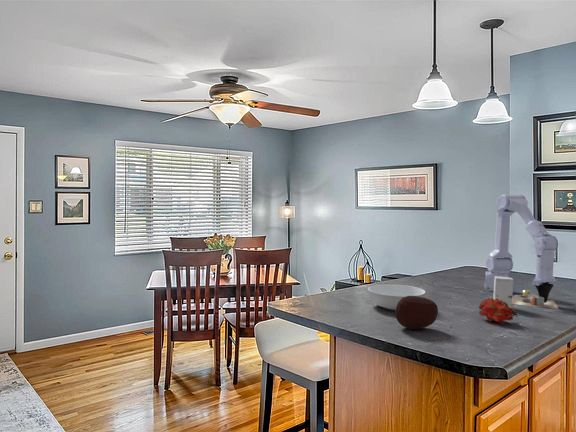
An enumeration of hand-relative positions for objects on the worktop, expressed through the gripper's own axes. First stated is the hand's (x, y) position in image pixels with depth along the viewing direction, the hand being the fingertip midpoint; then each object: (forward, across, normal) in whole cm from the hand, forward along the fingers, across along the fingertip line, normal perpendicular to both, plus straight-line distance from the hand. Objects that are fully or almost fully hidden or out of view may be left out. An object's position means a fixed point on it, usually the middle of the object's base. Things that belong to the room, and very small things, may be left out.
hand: (543, 302), depth 171 cm
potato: (+2, -67, +9) cm, 67 cm away
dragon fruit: (+2, -37, -1) cm, 37 cm away
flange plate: (+1, 0, +5) cm, 5 cm away
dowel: (+1, -4, +2) cm, 5 cm away
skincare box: (+2, -19, +6) cm, 20 cm away
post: (+1, +2, +7) cm, 8 cm away
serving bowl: (+2, -50, +31) cm, 58 cm away
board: (+2, +1, +5) cm, 5 cm away
